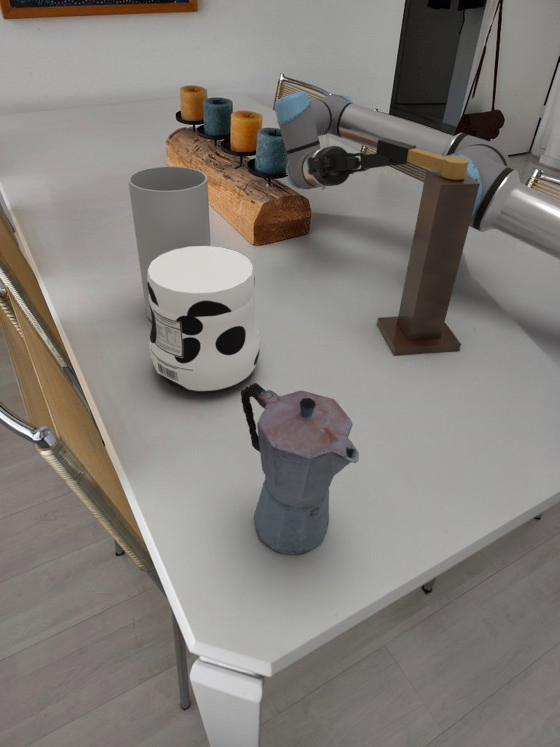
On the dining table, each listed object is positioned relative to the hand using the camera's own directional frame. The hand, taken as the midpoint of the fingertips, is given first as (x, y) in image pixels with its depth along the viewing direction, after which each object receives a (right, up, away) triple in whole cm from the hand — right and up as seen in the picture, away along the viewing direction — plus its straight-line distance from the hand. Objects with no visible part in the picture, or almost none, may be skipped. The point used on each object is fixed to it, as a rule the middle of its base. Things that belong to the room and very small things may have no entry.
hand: (380, 156), depth 93 cm
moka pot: (-16, -55, -28) cm, 64 cm away
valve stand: (+7, -31, +5) cm, 32 cm away
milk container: (-29, -37, -4) cm, 47 cm away
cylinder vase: (-36, -26, +9) cm, 45 cm away
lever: (+4, -5, -9) cm, 11 cm away
